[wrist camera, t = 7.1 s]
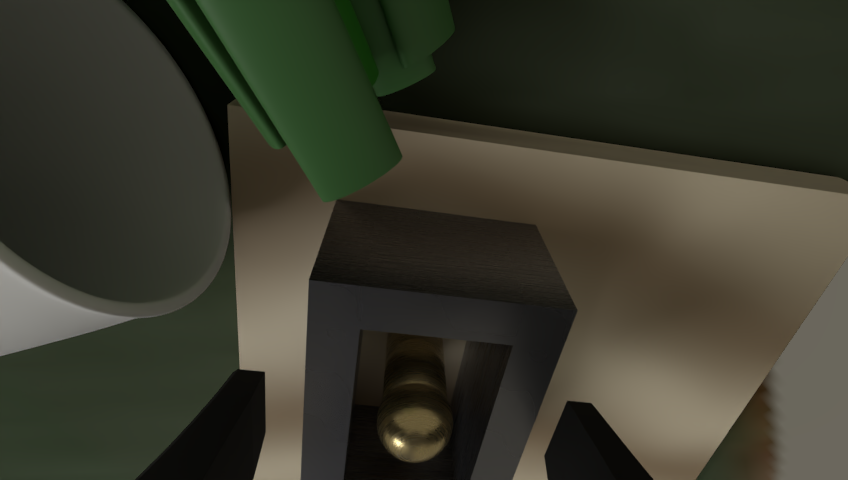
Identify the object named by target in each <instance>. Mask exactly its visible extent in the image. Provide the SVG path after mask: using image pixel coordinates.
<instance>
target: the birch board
mask: <svg viewBox="0 0 848 480" xmlns="http://www.w3.org/2000/svg"><path fill="white" fill-rule="evenodd" d="M227 110H228V131H229V152H230V172H231V193H232V214H233V235H234V255H235V276H236V297H237V318H238V338H239V359H240V369H242V370H252V371H263V372H265V407H266V433H265V437H264V441H263V445H262V449H261V453H260V457H259V460H258V464H257V468H256V471H255V475H254V478H253V480H301V457H302V433H303V408H304V384H305V360H306V336H307V312H308V288H309V278H310V275H311V272H312V269H313V266H314V263H315V261H316V258H317V255H318V252H319V249H320V246H321V243H322V240H323V237H324V234H325V232H326V229H327V226H328V223H329V220H330V217H331V214H332V211H333V208H334V205H335V203H336V200H334V201H331V202H323V201H322V200H321V198H320V197H319V195H318V194H317V192H316V190H315V189H314V187H313V186H312V184H311V182H310V181H309V179H308V178H307V176H306V175H305V173H304V171H303V170H302V168H301V167H300V165H299V164H298V162H297V160H296V159H295V157H294V156H293V154H292V152H291V151H290V149H289V148H288V146H287V145H286V146H285V147H283V148H281V149H274V148H272V147H271V146H270V145H269V144H268V143H267V141H266V140H265V139H264V137H263V136H262V134H261V133H260V132H259V130H258V129H257V127H256V126H255V124H254V123H253V122H252V120H251V119H250V117H249V116H248V115H247V113H246V112H245V110H244V109H243V108H242V106H241V105H240V103H239V102H238V101H237V99H235V100H233V101H232V102H231V103H229V104H228V105H227ZM383 113H384V115H385V117H386V119H387V122H388V124H389V126H390V129H391V131H392V133H393V135H394V138H395V140H396V142H397V144H398V147H399V149H400V151H401V154H402V156H403V157H402V159H401V160H400V162H399V163H398V164H397V165H396V166H395V167H393V168H392V169H391V170H390V171H388V172H387V173H386V174H384V175H383V176H381V177H380V178H378V179H377V180H375V181H374V182H372V183H370V184H369V185H367V186H365V187H363V188H362V189H360V190H358V191H356V192H354V193H352V194H350V195H347V196H345V197H343V198H340V200H347V201H355V202H363V203H370V204H378V205H386V206H394V207H401V208H409V209H417V210H425V211H432V212H440V213H448V214H455V215H463V216H471V217H479V218H486V219H494V220H502V221H509V222H517V223H525V224H533V225H536V226H537V228H538V230H539V232H540V234H541V236H542V239H543V241H544V243H545V245H546V247H547V249H548V251H549V253H550V255H551V257H552V259H553V261H554V263H555V265H556V267H557V269H558V271H559V273H560V275H561V277H562V279H563V282H564V284H565V286H566V288H567V290H568V292H569V294H570V296H571V298H572V300H573V302H574V304H575V306H576V308H577V310H578V311H577V314H576V316H575V319H574V321H573V324H572V327H571V329H570V332H569V334H568V337H567V340H566V342H565V345H564V347H563V350H562V352H561V355H560V358H559V360H558V363H557V365H556V368H555V371H554V373H553V376H552V378H551V381H550V384H549V386H548V389H547V391H546V394H545V397H544V399H543V402H542V404H541V407H540V410H539V412H538V415H537V417H536V420H535V423H534V425H533V428H532V430H531V433H530V435H529V438H528V441H527V443H526V446H525V448H524V451H523V454H522V456H521V459H520V461H519V464H518V467H517V469H516V472H515V474H514V477H513V480H548V478H547V471H546V464H545V458H544V455H545V453H546V450H547V448H548V445H549V443H550V441H551V438H552V436H553V433H554V431H555V429H556V426H557V424H558V421H559V419H560V417H561V414H562V412H563V409H564V407H565V405H566V402H567V401H577V402H587V403H592V404H593V406H594V407H595V408H596V409H597V410H598V412H599V413H600V414H601V415H602V417H603V418H604V419H605V420H606V422H607V423H608V424H609V425H610V427H611V428H612V429H613V430H614V432H615V433H616V434H617V435H618V437H619V438H620V439H621V440H622V442H623V443H624V444H625V445H626V446H627V448H628V449H629V450H630V451H631V453H632V454H633V455H634V456H635V458H636V459H637V460H638V461H639V462H640V464H641V465H642V466H643V467H644V469H645V470H646V471H647V472H648V473H649V475H650V476H651V477H652V478H653V479H654V480H696V478H697V477H698V475H699V474H700V472H701V471H702V469H703V468H704V466H705V465H706V463H707V462H708V461H709V459H710V458H711V456H712V455H713V453H714V452H715V450H716V449H717V447H718V446H719V444H720V443H721V442H722V440H723V439H724V437H725V436H726V434H727V433H728V431H729V430H730V428H731V427H732V425H733V424H734V422H735V421H736V420H737V418H738V417H739V415H740V414H741V412H742V411H743V409H744V408H745V406H746V405H747V403H748V402H749V401H750V399H751V398H752V396H753V395H754V393H755V392H756V390H757V389H758V387H759V386H760V384H761V383H762V381H763V380H764V379H765V377H766V376H767V374H768V373H769V371H770V370H771V368H772V367H773V365H774V364H775V362H776V361H777V360H778V358H779V357H780V355H781V354H782V352H783V351H784V349H785V348H786V346H787V345H788V343H789V342H790V340H791V339H792V338H793V336H794V335H795V333H796V332H797V330H798V329H799V327H800V325H801V324H802V323H803V321H804V320H805V318H806V317H807V316H808V314H809V313H810V311H811V310H812V308H813V306H814V305H815V304H816V302H817V301H818V299H819V298H820V297H821V295H822V294H823V292H824V291H825V289H826V288H827V286H828V285H829V283H830V282H831V280H832V279H833V277H834V276H835V275H836V273H837V272H838V270H839V269H840V267H841V266H842V264H843V263H844V261H845V260H846V258H847V257H848V181H846V180H844V179H841V178H839V177H833V176H826V175H819V174H812V173H805V172H799V171H792V170H785V169H778V168H772V167H765V166H758V165H751V164H744V163H738V162H731V161H724V160H717V159H711V158H704V157H697V156H690V155H683V154H677V153H670V152H663V151H656V150H650V149H643V148H636V147H629V146H623V145H616V144H609V143H602V142H595V141H589V140H582V139H575V138H568V137H562V136H555V135H548V134H541V133H534V132H528V131H521V130H514V129H507V128H501V127H494V126H487V125H480V124H473V123H467V122H460V121H453V120H446V119H440V118H433V117H426V116H419V115H412V114H406V113H399V112H392V111H385V110H383ZM387 334H388V332H381V331H372V330H363V337H362V345H361V354H360V363H359V371H358V380H357V389H356V397H355V404H357V405H368V406H379V407H380V404H381V402H382V400H383V386H384V373H385V359H386V346H387ZM465 345H466V340H457V339H447V338H443V350H444V362H445V375H446V388H447V400H448V402H449V404H451V400H452V396H453V392H454V388H455V384H456V380H457V376H458V373H459V369H460V365H461V361H462V357H463V353H464V349H465Z"/></svg>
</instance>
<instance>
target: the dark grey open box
mask: <svg viewBox="0 0 848 480" xmlns="http://www.w3.org/2000/svg"><path fill="white" fill-rule="evenodd" d="M577 311H578V310H577V308H576V306H575V304H574V302H573V300H572V298H571V296H570V294H569V292H568V290H567V288H566V286H565V284H564V282H563V279H562V277H561V275H560V273H559V271H558V269H557V267H556V265H555V263H554V261H553V259H552V257H551V255H550V253H549V251H548V249H547V247H546V245H545V243H544V241H543V239H542V236H541V234H540V232H539V230H538V228H537V226H536V225H533V224H525V223H517V222H509V221H502V220H494V219H486V218H479V217H471V216H463V215H455V214H448V213H440V212H432V211H425V210H417V209H409V208H401V207H394V206H386V205H378V204H370V203H363V202H355V201H347V200H340V199H338V200H336V203H335V205H334V208H333V211H332V214H331V217H330V220H329V223H328V226H327V229H326V232H325V234H324V237H323V240H322V243H321V246H320V249H319V252H318V255H317V258H316V261H315V263H314V266H313V269H312V272H311V275H310V278H309V288H308V312H307V336H306V360H305V384H304V408H303V433H302V457H301V480H513V477H514V474H515V472H516V469H517V467H518V464H519V461H520V459H521V456H522V454H523V451H524V448H525V446H526V443H527V441H528V438H529V435H530V433H531V430H532V428H533V425H534V423H535V420H536V417H537V415H538V412H539V410H540V407H541V404H542V402H543V399H544V397H545V394H546V391H547V389H548V386H549V384H550V381H551V378H552V376H553V373H554V371H555V368H556V365H557V363H558V360H559V358H560V355H561V352H562V350H563V347H564V345H565V342H566V340H567V337H568V334H569V332H570V329H571V327H572V324H573V321H574V319H575V316H576V314H577ZM363 330H372V331H381V332H391V333H400V334H410V335H419V336H428V337H438V338H447V339H457V340H466V345H465V349H464V353H463V357H462V361H461V365H460V369H459V373H458V376H457V380H456V384H455V388H454V392H453V396H452V400H451V404H450V406H451V409H452V414H453V430H452V434H451V437H450V440H449V441H448V443H447V445H446V446H445V448H444V449H443V450H442V451H441V452H440V453H439V454H438V455H437V456H435V457H434V458H432V459H430V460H428V461H425V462H420V463H409V462H405V461H402V460H400V459H397V458H396V457H394V456H393V455H392V454H390V453H389V452H388V451H387V449H386V448H385V447H384V446H383V444H382V442H381V440H380V437H379V434H378V430H377V414H378V410H379V406H368V405H357V404H355V397H356V389H357V380H358V371H359V363H360V354H361V345H362V337H363Z"/></svg>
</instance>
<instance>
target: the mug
mask: <svg viewBox="0 0 848 480" xmlns="http://www.w3.org/2000/svg"><path fill="white" fill-rule="evenodd" d="M230 228H231V199H230V190H229V184H228V178H227V173H226V169H225V165H224V161H223V157H222V154H221V151H220V148H219V145H218V142H217V139H216V136H215V134H214V131H213V129H212V126H211V124H210V122H209V120H208V117H207V115H206V113H205V111H204V109H203V107H202V105H201V103H200V101H199V99H198V97H197V95H196V94H195V92H194V90H193V88H192V87H191V85H190V83H189V82H188V80H187V78H186V77H185V75H184V74H183V72H182V71H181V69H180V68H179V66H178V65H177V63H176V62H175V60H174V59H173V58H172V56H171V55H170V53H169V52H168V51H167V49H166V48H165V47H164V45H163V44H162V43H161V42H160V40H159V39H158V38H157V37H156V36H155V34H154V33H153V32H152V31H151V30H150V28H149V27H148V26H147V25H146V24H145V23H144V22H143V21H142V20H141V19H140V17H139V16H138V15H137V14H136V13H135V12H134V11H133V10H132V9H131V8H130V7H129V6H128V5H127V4H126V3H125V2H124V1H123V0H0V356H3V355H6V354H10V353H14V352H18V351H22V350H25V349H29V348H33V347H37V346H41V345H44V344H48V343H52V342H56V341H59V340H63V339H67V338H70V337H74V336H78V335H81V334H85V333H89V332H92V331H96V330H99V329H103V328H106V327H109V326H113V325H116V324H119V323H122V322H126V321H129V320H132V319H136V318H147V317H155V316H160V315H164V314H168V313H171V312H174V311H176V310H178V309H180V308H182V307H184V306H186V305H188V304H189V303H191V302H192V301H193V300H195V299H196V298H197V297H198V296H200V295H201V294H202V293H203V292H204V291H205V290H206V288H207V287H208V286H209V285H210V284H211V282H212V281H213V279H214V278H215V276H216V274H217V273H218V271H219V269H220V267H221V264H222V262H223V260H224V257H225V254H226V250H227V247H228V242H229V237H230Z"/></svg>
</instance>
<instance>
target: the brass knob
mask: <svg viewBox="0 0 848 480" xmlns="http://www.w3.org/2000/svg"><path fill="white" fill-rule="evenodd" d="M377 430H378V434H379V437H380V440H381V442H382V444H383V446H384V447H385V448H386V449H387V451H388V452H389V453H390V454H392V455H393V456H394V457H396V458H397V459H400V460H402V461H405V462H409V463H420V462H425V461H428V460H430V459H432V458H434V457H435V456H437V455H438V454H439V453H440V452H441V451H442V450H443V449H444V448H445V446H446V445H447V443H448V441H449V440H450V437H451V434H452V430H453V414H452V409H451V406H450V404H449V402H448V400H447V388H446V375H445V362H444V350H443V338H438V337H428V336H419V335H410V334H400V333H391V332H388V334H387V346H386V359H385V373H384V386H383V400H382V402H381V404H380V407H379V410H378V414H377Z"/></svg>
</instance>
